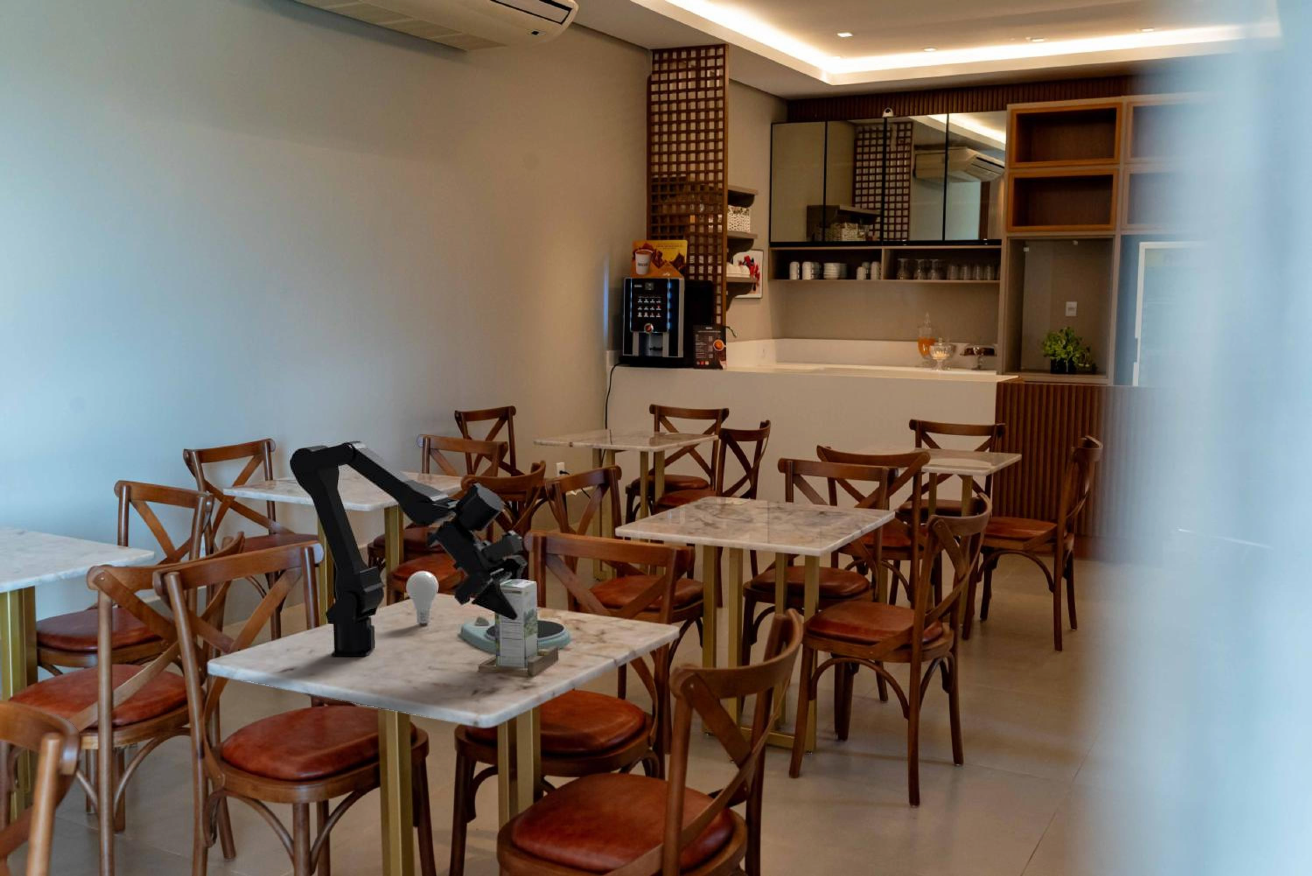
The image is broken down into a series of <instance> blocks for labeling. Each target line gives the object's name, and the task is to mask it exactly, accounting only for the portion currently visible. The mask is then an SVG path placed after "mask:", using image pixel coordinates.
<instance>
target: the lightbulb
mask: <svg viewBox="0 0 1312 876" xmlns="http://www.w3.org/2000/svg"><path fill="white" fill-rule="evenodd" d="M438 591H439V581H438V580H437V577H436V576H435V575H434V574H433V573H431V572H430V571H426V570H419V571H416V572H415V573H412V574H411V575H410V577H409V578H408V579H407V581H406V593H407V594H408V597H409V598H410V600H411V601H412V603H413V606H414V609H415V611H416V623H417V624H419V625H421V626H426V625H427V624H429V623H430V622H431V614H430V613H431V609H432V606H433V605H432V603H433V601H434V599H435V598H436V595H438Z"/></svg>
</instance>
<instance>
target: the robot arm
mask: <svg viewBox="0 0 1312 876" xmlns="http://www.w3.org/2000/svg"><path fill="white" fill-rule="evenodd" d="M346 465H347V466H349V467H350V468H351V469H353V470H354V471H355V472H357V473H358V474H359V475H361V476H362V477H364V479H366V480H368V481H369V482H370V483H372V484H373V485H375V486H376V487H378V488H379V489H380V490H381V491H383V492H384V493H386V494H387V495H389V496H390V497H391V498H393V499H394V500H395V501H396V503H398V506H399V507H400V510H401V511H402V513H403V514H404V515H405V516H406V517H407V518H408V519H409V520H410V521H411V522H412V523H413V524H415V526H418V527H421V528H424V527H425V528H427V527H429V526H433V525H436V524H440V523H441V524H440V525H438V527H437V528H436V529H435V530H433V529H432V530H430V531H427V532H426V536H427V538H426V543H425V546H426V548H431V547H435V546H437V545H440V546H441V547H442V549H444V551H445V552H446V553H447V554H448V555H449V556H450V558H451V559H452V560H453V561H454V562H455V563H454V564H453V565H452V567H453V568H454V569H455V571H458V570H460V569H461V570H462V571H463V573H464V574H465V575H466V577H465V578H464V579H463V581H462V582H460V583H459V584H458V586H456V588H455V589H454V590H453V592H454V593H453V594H454V596H453V597H454V599H455V600H456V601H457V602H458V604H460V606H463V605H466V604H468V603H469V602H470V601H471V597H472V595H473V596H474V597H475V598H473V600H472V601H471V602H470V604H471V605H473V606H474V605H475V606H477V607H478V606H479V607H481V608H483V609H486V610H488V611H491V612H494V613H495V612H496V613H498V614H500V615H502V616H505V617H507V618H509V619H511V620H515V619H516V618H517V617H518V615H517V614H516V612H515V610H514V609H513V607H512V606H511V605H510V603H509V602H508V600H507V599H506V597H505V596H504V595H503V593H502V592H501V590H500V584H501V583H503V582H505V581H507V580H514V579H520V580H522V579H521V578H522V573H523V572H524V568H525V567H526V566H527V565H528V561H527V560H526V559H525V558H524V557H523V556H522V555H521V554H520V555H519V554H517V553H520V552H522V551H524V548H523V546H522V543H523V541H524V539H523V537H522V536H520V535H519V533H516V532H515V531H514V530H513V529H512V530H509V531H507V532H506V533H502V535H501V539H499V540H497V541H495V542H492V543H491V542H490V541H488V540H486V539H485V540H482V541H481V540H480V538H478V536H477V535H476V534H475V533H474V532H475V531H476V532H483V531H484V530H485V529H486V528H487V527H488V526H489V525H490V524H491V522H493V520H494V519H496V517H497V516H498V515H499V514H500V513H501V512H502V511H503V510H504V509H505V505H504V502H503V501H502V499H501V498H500V496H498V494H497V493H494V492H493V491H492V490H490V489H488V488H486V487H483V485H481V484H480V483H479V482H478V483H473V484H472V485H471V486H470V487H469V488H468V489H467V491H466V493H465V494H464V495H463V496H462V497H461V499H456V498H451V497H449V496H448V494H447V493H445V492H443V491H441V490H439V489H437V488H435V487H433V486H431V485H428V484H425V483H422V482H418V481H416V480H414V479H412V478H410V477H409V476H408V475H406V474H405V473H404V472H403V471H401V470H399V469H398V468H396V467H395V466H393V465H392V464H391V463H390V462H388V461H386V459H384V458H383V457H381V456H380V455H378V454H377V453H376V452H374V451H373V450H372V449H370V448H369V447H368V446H367V445H366V444H365V443H364V442H363V441H360V440H351V441H346V442H342V443H341V444H338V445H333V446H327V445H324V444H320V445H313V446H307V447H301V448H298V449H296V450H295V451H294V452H293V453H292V455H291V457H290V459H289V466H290V468H289V469H290V470H291V472H292V474H293V476H294V478H295V480H296V482H297V483H298V484H297V485H299V486H300V487H301V488H302V489H303V491H305V492H306V493H307V494H308V495H309V496H310V499H311V500H312V503H313V505H314V509H315V511H316V515H317V517H318V519H319V522H320V523H319V524H320V525H321V528H322V531H323V534H324V537H325V539H326V543H327V545H328V548H329V551H330V555H331V557H332V560H333V563H334V565H335V568H336V577H335V585H334V590H335V595H336V600H335V602H334V603H333V604H332V605H331V606H330V607H329V608H328V610H326V611H325V617H326V619H327V622H328V624H330V625H332V626H333V627H332V628H333V651H332V652H331V653H330V655H331V657H366V656H368V655H369V654H370V653H371V652H372V651H373V650H374V649H375V648H376V638H375V637H376V632H375V628H376V627H375V625H372V616H376V614H377V610H378V607H379V606H380V605H381V604H382V601H383V599H384V597H385V593H384V588H386V585H385V583H384V581H383V580H382V577H381V574H380V570H379V568H378V566H373V567H371V568H370V567H369V565H367V564H366V563H365V561H364V560H363V556H362V553H361V551H360V548H359V546H358V543H357V540H356V537H355V535H354V532H353V529H352V526H351V523H350V521H349V517H348V515H347V511H346V509H345V506H344V503H343V500H342V498H341V496H340V491H339V487H338V486H339V480H340V479H339V478H340V468H339V467H341V466H346ZM453 515H454V517H452V518H451V520H447V519H448V518H449V517H451V516H453Z"/></svg>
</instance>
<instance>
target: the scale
mask: <svg viewBox="0 0 1312 876" xmlns="http://www.w3.org/2000/svg"><path fill="white" fill-rule="evenodd" d="M537 624H538V625H537V626H538V650H540V649H548V648H550V647H551V646H558V649H559V650H561V649H560V648H562V649H564V648H566V647H568V646H569V645H570V644H571V643H572V638H571V634H570V631H569V630H568V629H567V628H566V627H565V626H564V625H563V624H561V623H558V622H556V621H550V620H543V619H541V620H539V619H537ZM460 637H462V638H463V639H464V640H465V641H467V642H469V643H470V644H471V645H472V646H475V647H477V648H479V649H481V650H483V651H486V652H490V653H494V654H496V653H495V619H488V618H487V617H485V616H482V615H479V616H478V617H477V618H476V619H475V620H470V621H468V622H464V623H463V624H462V625H461V627H460ZM570 642H571V643H570ZM569 643H570V644H569ZM568 644H569V645H568ZM567 645H568V646H567ZM565 646H566V647H565ZM563 647H564V648H563Z"/></svg>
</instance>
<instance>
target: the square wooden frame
mask: <svg viewBox="0 0 1312 876" xmlns="http://www.w3.org/2000/svg"><path fill="white" fill-rule="evenodd" d="M556 661H557V662H558V661H559V650H558V646H551V647H550V648H548V649H540V650H538V655H537V656H536V657H534V658H532V659H531V660H529V661H528V662H527V667H526V668H515V667H503V666H496V654H495V655H493V656H491V657H489V658H488V659H486V660H485V661H483V662H481V663H479V665H478V667H477V671H478V673H489V674H500V675H501V674H502V675H509V676H510V675H512V676H521V677H523V676H524V677H536V676H537V675H538V674H540V673H542V672H543V671H545V670H546V669H548V668H549V667H551V666H552V665H554V664H555V663H556ZM553 663H554V664H553Z"/></svg>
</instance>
